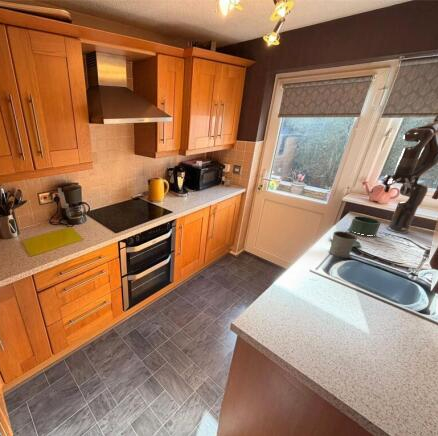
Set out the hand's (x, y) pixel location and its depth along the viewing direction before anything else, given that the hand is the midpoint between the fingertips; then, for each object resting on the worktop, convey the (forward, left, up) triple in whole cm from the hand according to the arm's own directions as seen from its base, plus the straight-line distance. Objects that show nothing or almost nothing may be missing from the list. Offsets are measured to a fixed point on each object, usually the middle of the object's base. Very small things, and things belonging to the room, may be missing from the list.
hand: (395, 192), depth 138 cm
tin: (-6, -6, -30) cm, 31 cm away
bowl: (+16, -22, -30) cm, 40 cm away
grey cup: (+35, -30, -30) cm, 55 cm away
